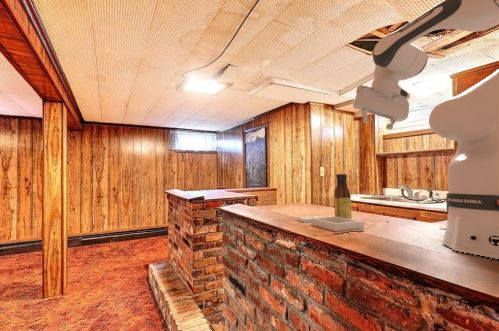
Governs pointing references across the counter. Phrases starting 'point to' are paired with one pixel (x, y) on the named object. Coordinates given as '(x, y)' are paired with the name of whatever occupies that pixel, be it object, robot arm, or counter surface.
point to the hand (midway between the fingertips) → (377, 125)
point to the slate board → (300, 221)
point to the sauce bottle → (342, 198)
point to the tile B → (304, 219)
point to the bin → (338, 224)
